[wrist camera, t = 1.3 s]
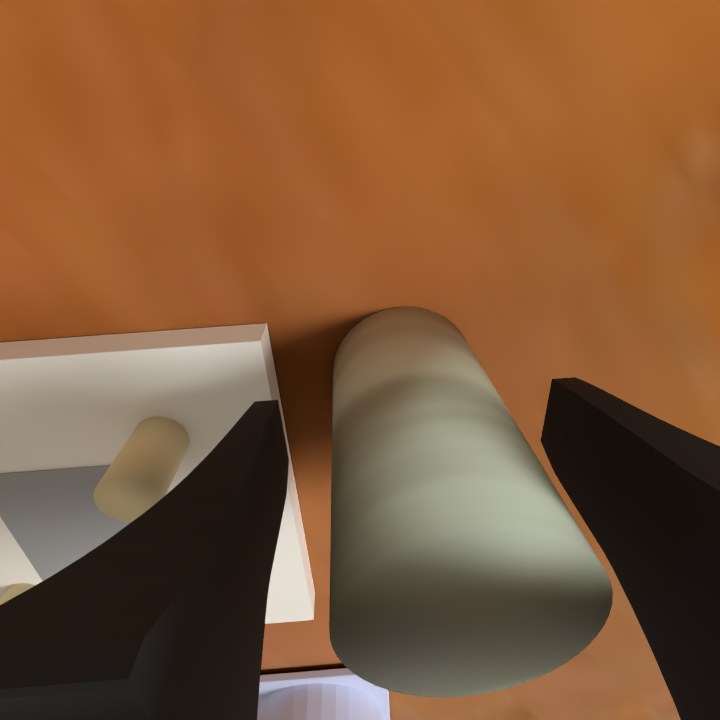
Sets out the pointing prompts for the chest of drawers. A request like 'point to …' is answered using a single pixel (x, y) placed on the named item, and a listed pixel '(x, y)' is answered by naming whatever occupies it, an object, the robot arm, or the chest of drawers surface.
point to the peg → (446, 523)
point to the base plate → (126, 443)
